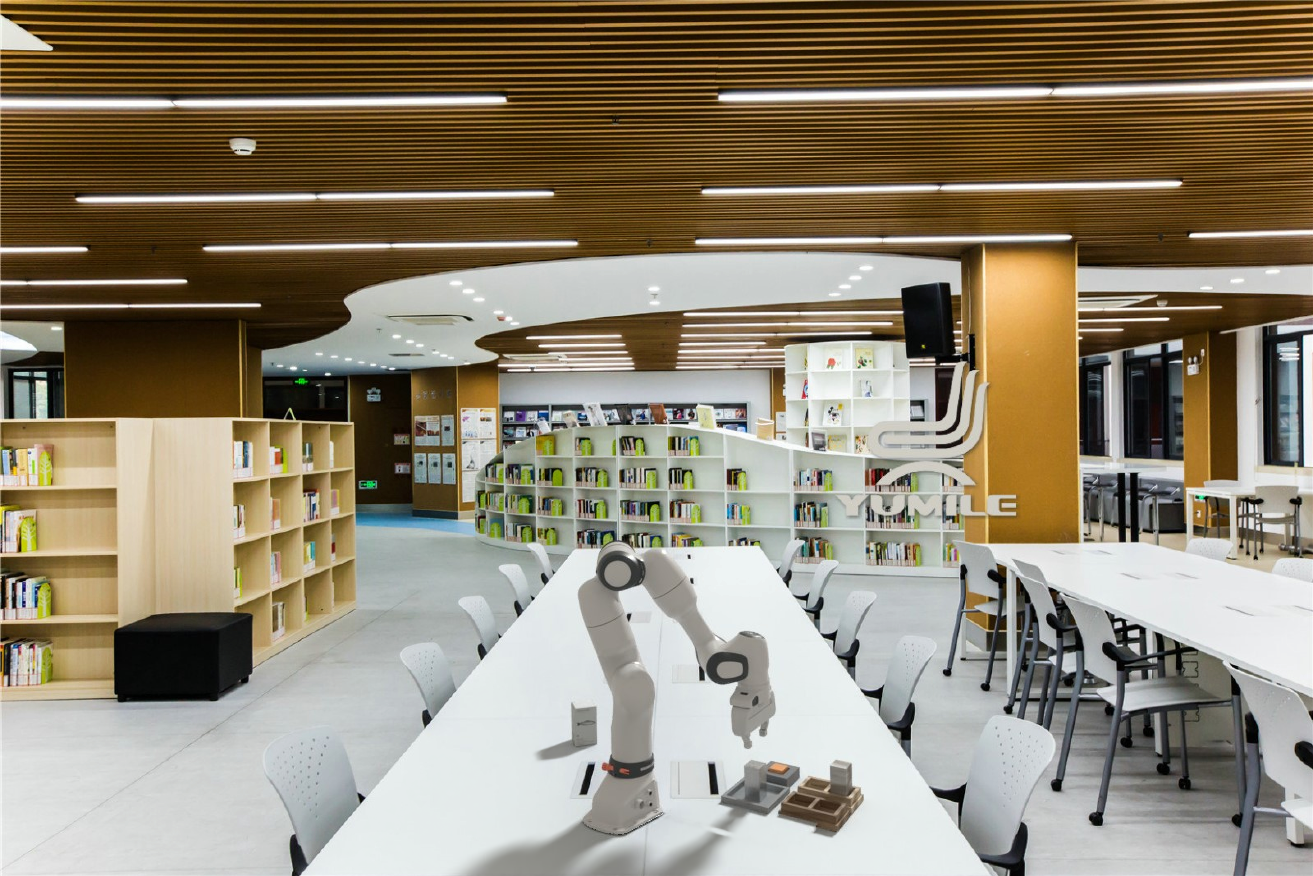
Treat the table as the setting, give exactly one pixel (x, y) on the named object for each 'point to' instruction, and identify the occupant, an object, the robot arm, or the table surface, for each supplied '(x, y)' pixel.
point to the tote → (766, 805)
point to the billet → (755, 780)
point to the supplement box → (584, 722)
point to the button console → (784, 779)
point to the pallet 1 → (825, 792)
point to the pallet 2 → (815, 810)
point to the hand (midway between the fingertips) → (755, 741)
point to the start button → (778, 768)
